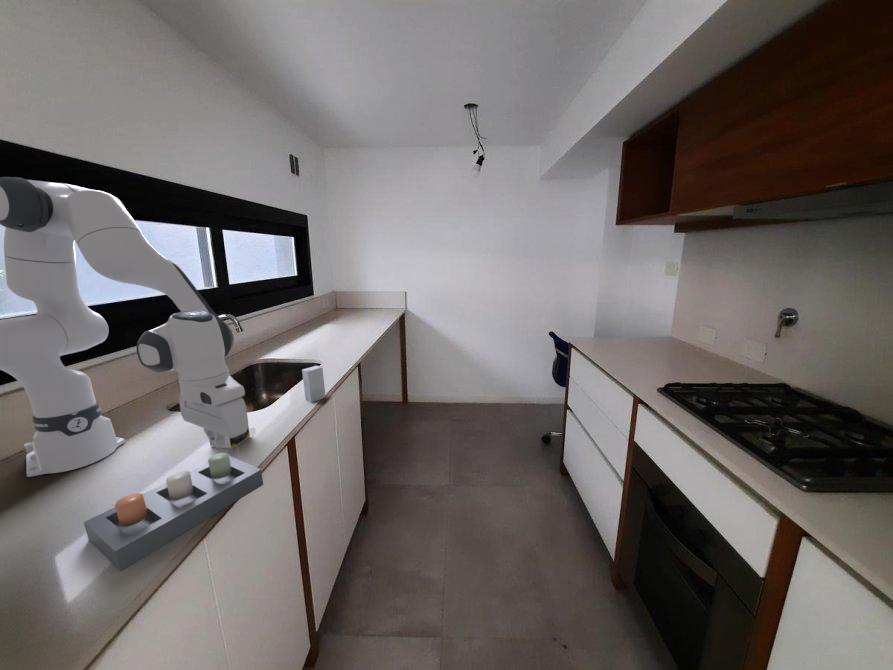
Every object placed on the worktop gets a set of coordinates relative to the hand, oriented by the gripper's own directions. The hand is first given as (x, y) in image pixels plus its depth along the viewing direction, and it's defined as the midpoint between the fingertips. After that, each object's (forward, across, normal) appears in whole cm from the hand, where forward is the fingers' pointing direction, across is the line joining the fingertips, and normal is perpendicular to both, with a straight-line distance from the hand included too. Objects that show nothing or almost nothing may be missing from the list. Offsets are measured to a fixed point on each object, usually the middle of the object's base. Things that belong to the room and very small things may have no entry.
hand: (218, 445), depth 79 cm
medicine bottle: (+11, -20, +13) cm, 26 cm away
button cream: (+7, 0, -8) cm, 11 cm away
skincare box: (+11, -23, +46) cm, 53 cm away
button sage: (+7, 0, 0) cm, 7 cm away
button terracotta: (+7, 0, -16) cm, 18 cm away
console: (+11, 0, -8) cm, 13 cm away
